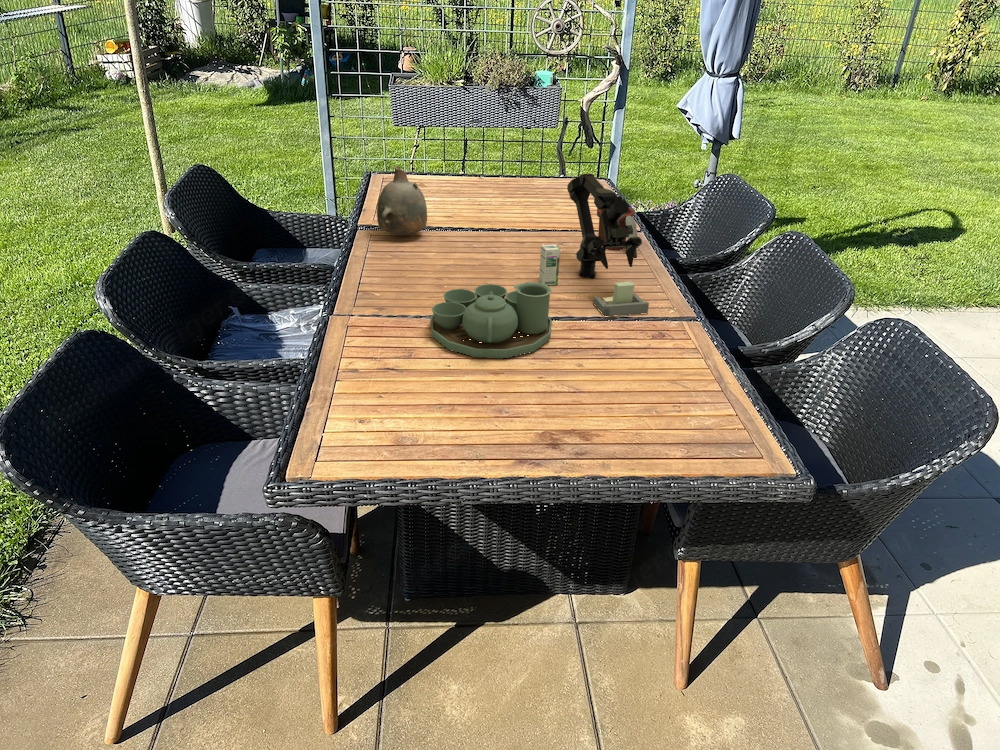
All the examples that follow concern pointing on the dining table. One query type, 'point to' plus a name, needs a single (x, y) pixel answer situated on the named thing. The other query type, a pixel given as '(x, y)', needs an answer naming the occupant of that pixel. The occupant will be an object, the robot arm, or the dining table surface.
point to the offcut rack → (621, 306)
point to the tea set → (493, 320)
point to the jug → (401, 206)
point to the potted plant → (624, 221)
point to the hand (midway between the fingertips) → (619, 267)
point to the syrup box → (549, 264)
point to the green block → (623, 293)
